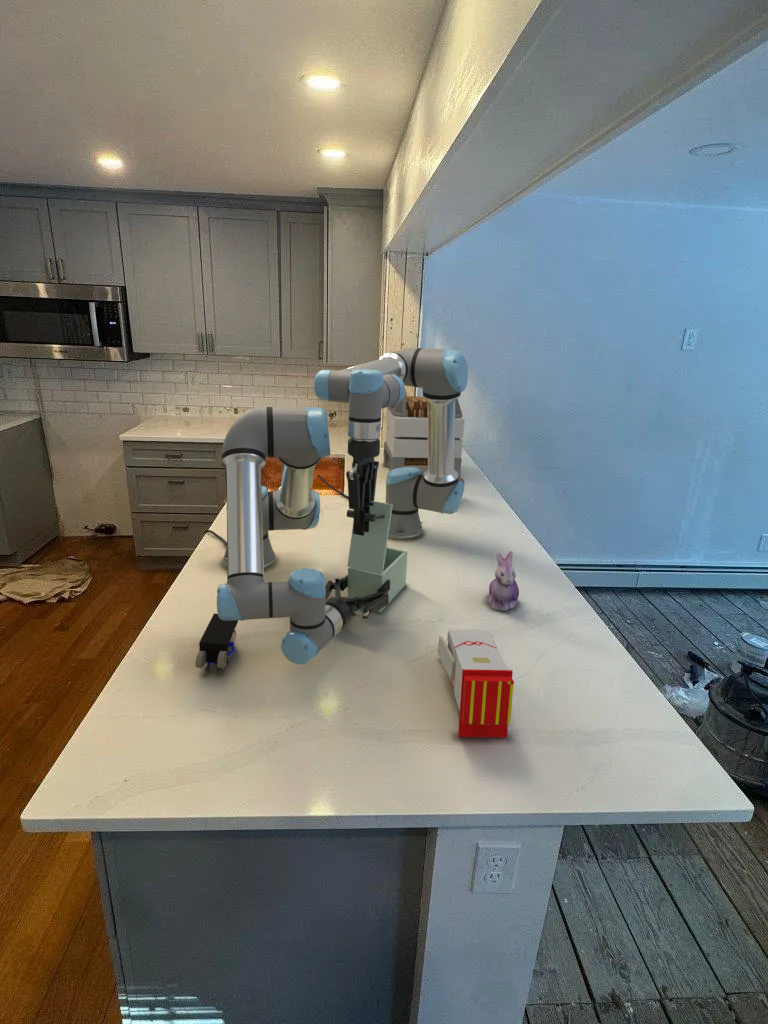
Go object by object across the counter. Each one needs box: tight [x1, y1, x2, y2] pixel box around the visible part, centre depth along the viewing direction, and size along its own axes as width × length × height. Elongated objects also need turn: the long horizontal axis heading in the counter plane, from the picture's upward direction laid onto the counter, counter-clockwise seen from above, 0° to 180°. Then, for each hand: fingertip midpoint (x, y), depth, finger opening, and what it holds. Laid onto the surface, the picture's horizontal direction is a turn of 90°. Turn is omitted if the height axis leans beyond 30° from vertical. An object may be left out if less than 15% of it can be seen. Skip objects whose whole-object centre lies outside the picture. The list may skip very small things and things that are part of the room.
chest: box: [346, 546, 408, 613], centre depth 155 cm, size 18×10×11 cm, turn 156°
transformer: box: [383, 389, 465, 478], centre depth 268 cm, size 34×33×41 cm
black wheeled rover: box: [195, 612, 240, 673], centre depth 125 cm, size 7×8×15 cm
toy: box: [437, 628, 515, 738], centre depth 117 cm, size 12×13×30 cm
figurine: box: [487, 550, 520, 612], centre depth 153 cm, size 9×10×15 cm
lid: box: [346, 500, 393, 575], centre depth 141 cm, size 18×10×8 cm
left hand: (370, 580), depth 151 cm, fingers closed on chest, 10 cm apart
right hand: (361, 532), depth 139 cm, fingers closed on lid, 2 cm apart
